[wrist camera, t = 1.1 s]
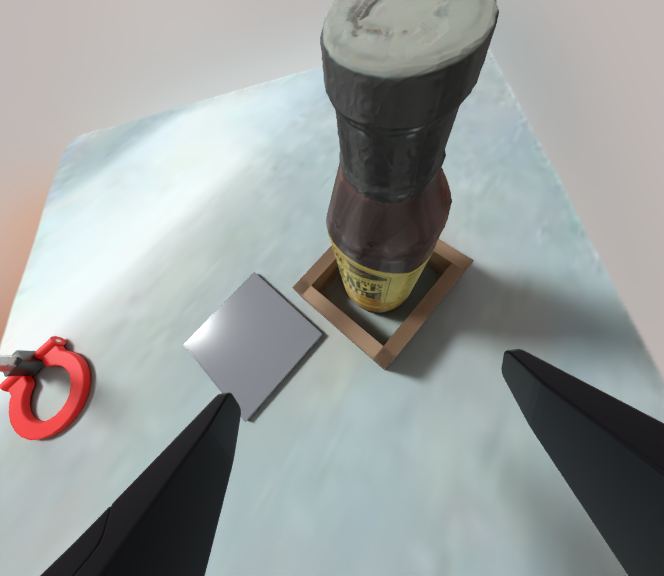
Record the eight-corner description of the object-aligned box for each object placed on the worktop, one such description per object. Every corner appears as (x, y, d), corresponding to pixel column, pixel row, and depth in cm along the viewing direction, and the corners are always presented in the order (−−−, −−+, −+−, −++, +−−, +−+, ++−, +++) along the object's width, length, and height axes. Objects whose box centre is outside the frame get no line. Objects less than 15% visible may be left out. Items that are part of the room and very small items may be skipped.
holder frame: (462, 274, 23) (473, 260, 21) (384, 370, 22) (386, 369, 19) (374, 218, 27) (373, 200, 24) (301, 297, 25) (292, 287, 22)
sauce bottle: (334, 277, 25) (223, 12, 7) (386, 245, 26) (413, -95, 7) (370, 332, 23) (350, 151, 5) (427, 296, 23) (628, -16, 5)
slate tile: (323, 334, 24) (322, 333, 23) (247, 420, 22) (244, 421, 22) (256, 273, 27) (254, 271, 27) (186, 345, 26) (183, 344, 25)
